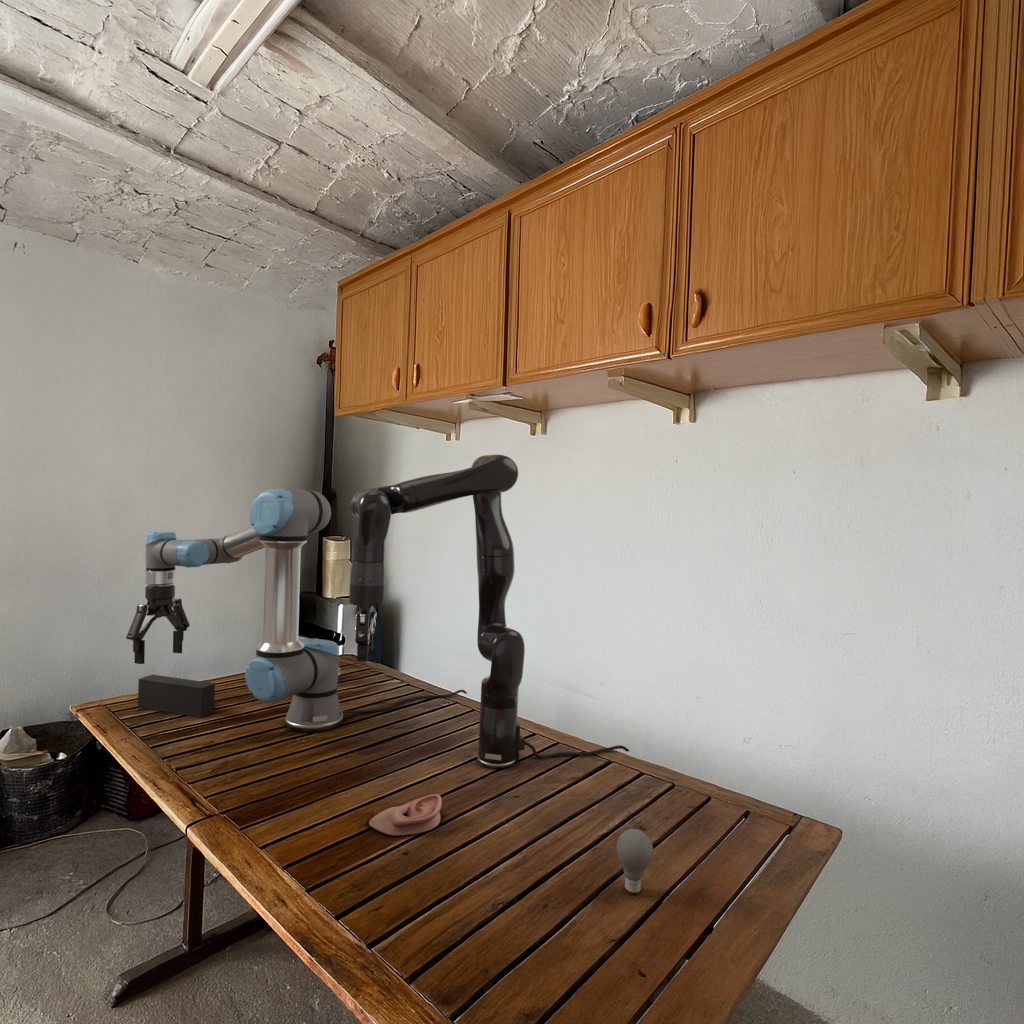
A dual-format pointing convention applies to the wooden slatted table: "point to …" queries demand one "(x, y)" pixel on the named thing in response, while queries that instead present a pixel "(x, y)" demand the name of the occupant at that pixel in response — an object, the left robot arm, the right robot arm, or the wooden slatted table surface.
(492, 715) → the right robot arm
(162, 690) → the bar
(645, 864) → the light bulb
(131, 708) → the wooden slatted table surface
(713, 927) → the wooden slatted table surface
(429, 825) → the anatomical model
